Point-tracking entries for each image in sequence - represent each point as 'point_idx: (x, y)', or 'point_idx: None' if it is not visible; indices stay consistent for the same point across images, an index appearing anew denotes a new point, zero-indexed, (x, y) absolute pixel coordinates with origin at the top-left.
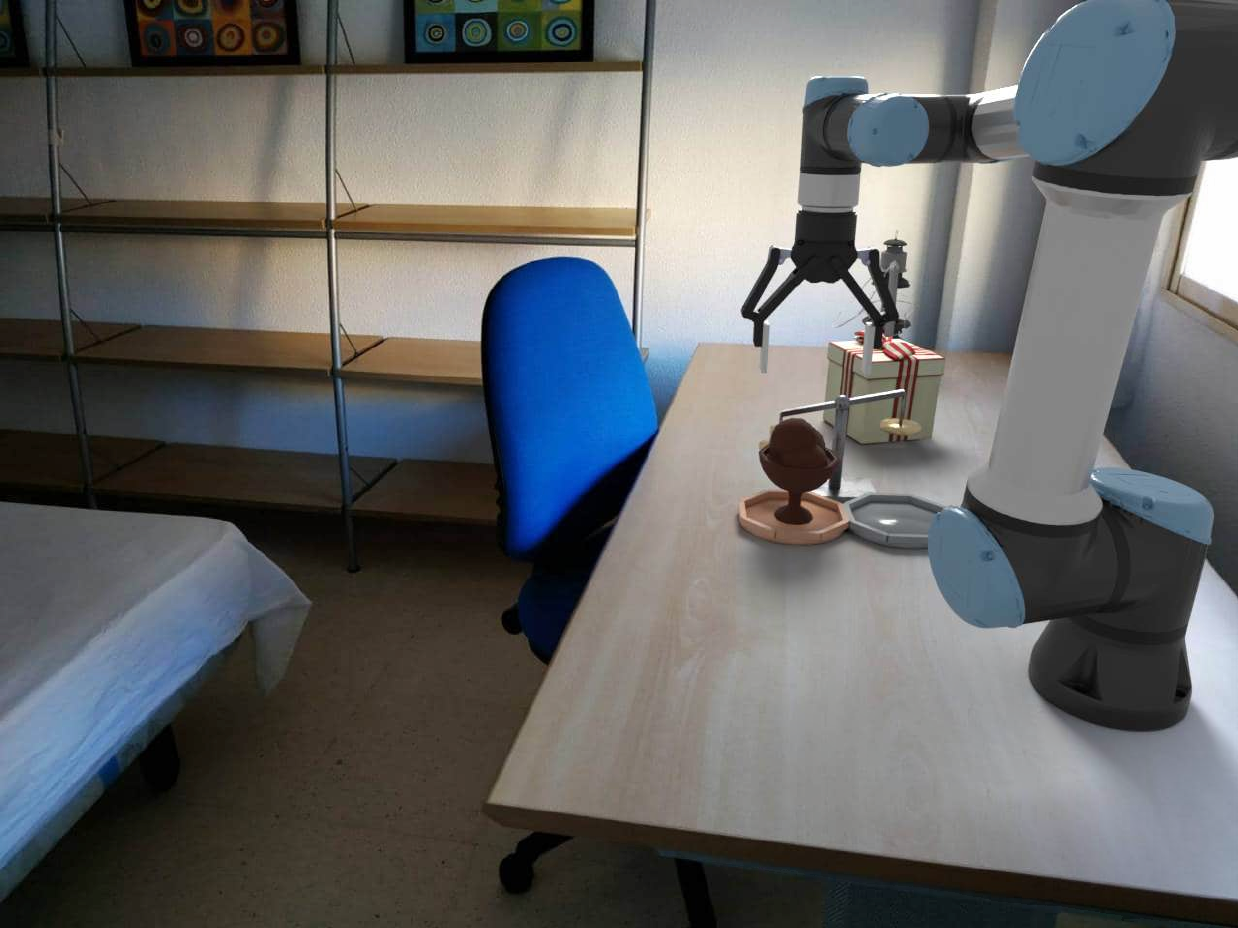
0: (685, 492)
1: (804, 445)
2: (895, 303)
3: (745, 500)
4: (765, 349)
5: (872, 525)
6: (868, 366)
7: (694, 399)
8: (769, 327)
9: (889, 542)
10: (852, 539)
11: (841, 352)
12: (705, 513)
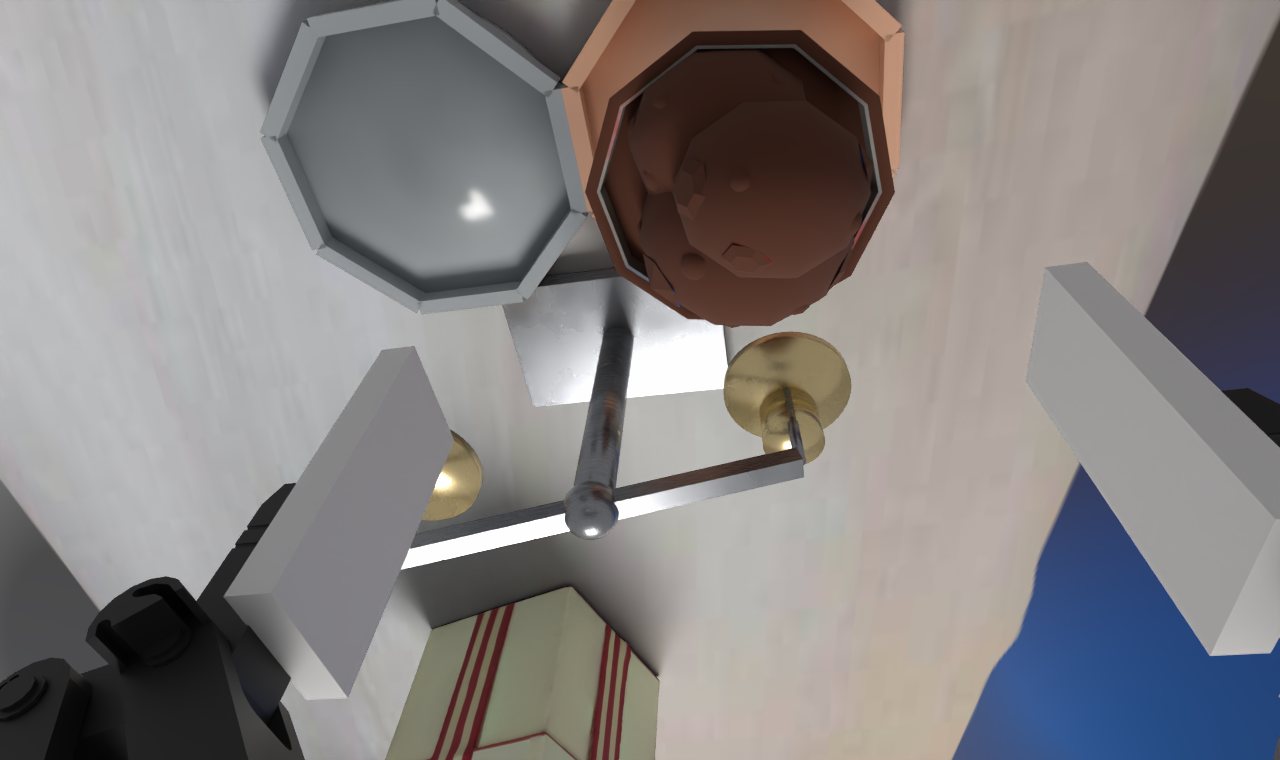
0: (1035, 261)
1: (726, 116)
2: None
3: None
4: (1158, 357)
5: (498, 114)
6: (378, 379)
7: (935, 736)
8: (1257, 500)
9: None
10: (550, 31)
11: None
12: (993, 123)
